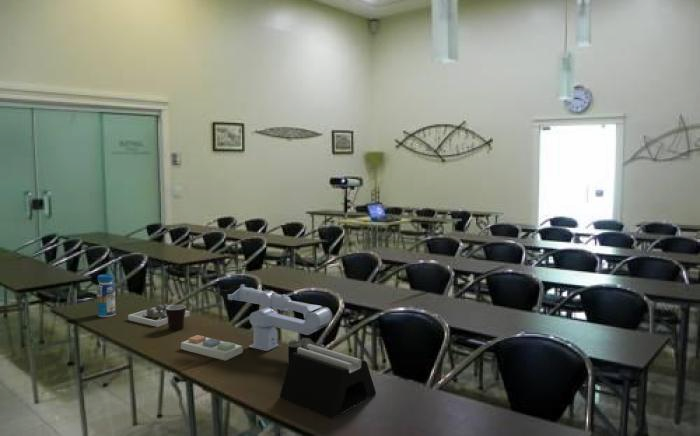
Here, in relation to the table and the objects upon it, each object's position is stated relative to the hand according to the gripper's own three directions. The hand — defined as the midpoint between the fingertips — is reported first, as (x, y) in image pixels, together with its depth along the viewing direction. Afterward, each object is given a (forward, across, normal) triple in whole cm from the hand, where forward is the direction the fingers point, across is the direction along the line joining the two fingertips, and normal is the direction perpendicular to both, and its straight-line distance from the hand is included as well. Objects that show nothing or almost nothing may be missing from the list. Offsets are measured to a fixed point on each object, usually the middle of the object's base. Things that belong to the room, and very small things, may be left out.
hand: (226, 290), depth 235 cm
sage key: (-14, +15, +19) cm, 27 cm away
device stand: (-69, +26, +20) cm, 76 cm away
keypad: (-6, +15, +21) cm, 26 cm away
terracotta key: (+2, +15, +19) cm, 24 cm away
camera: (-47, +6, +20) cm, 51 cm away
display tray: (+48, -6, +22) cm, 53 cm away
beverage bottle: (+74, +4, +23) cm, 78 cm away
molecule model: (+49, -6, +23) cm, 54 cm away
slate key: (-6, +15, +19) cm, 25 cm away
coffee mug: (+29, 0, +22) cm, 37 cm away
